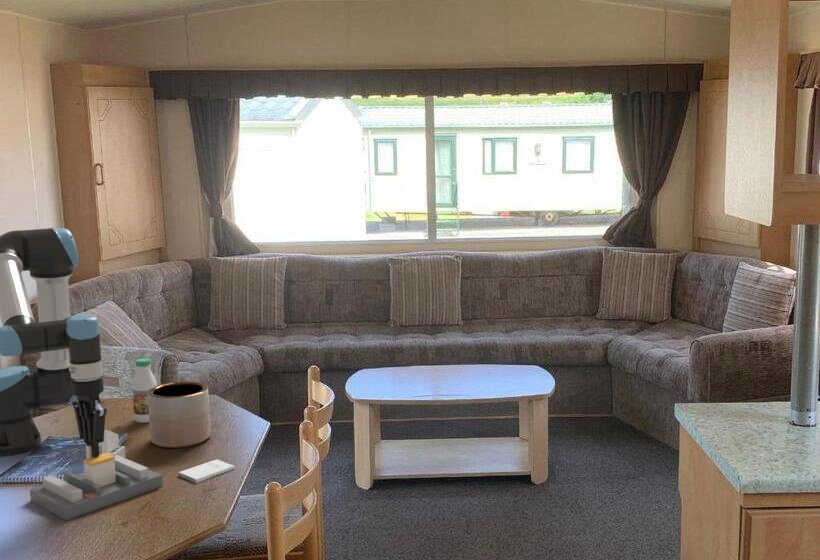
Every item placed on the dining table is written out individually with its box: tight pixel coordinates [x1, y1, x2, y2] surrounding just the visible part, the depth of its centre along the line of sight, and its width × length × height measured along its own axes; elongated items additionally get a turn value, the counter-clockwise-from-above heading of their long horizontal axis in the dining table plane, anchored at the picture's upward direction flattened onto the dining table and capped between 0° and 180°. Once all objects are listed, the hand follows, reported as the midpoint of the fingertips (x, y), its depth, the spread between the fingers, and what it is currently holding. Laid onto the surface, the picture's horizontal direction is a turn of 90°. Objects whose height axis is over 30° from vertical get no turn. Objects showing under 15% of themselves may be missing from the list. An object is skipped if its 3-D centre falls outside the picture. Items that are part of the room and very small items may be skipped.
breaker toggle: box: [82, 453, 116, 487], centre depth 209 cm, size 4×6×7 cm
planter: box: [148, 381, 212, 449], centre depth 249 cm, size 18×18×16 cm
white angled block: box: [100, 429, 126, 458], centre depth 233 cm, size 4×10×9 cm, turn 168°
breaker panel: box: [29, 455, 163, 521], centre depth 211 cm, size 18×26×5 cm
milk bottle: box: [132, 358, 158, 424], centre depth 268 cm, size 8×8×20 cm
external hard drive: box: [177, 458, 235, 484], centre depth 224 cm, size 2×8×12 cm
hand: (93, 467), depth 210 cm, fingers closed
